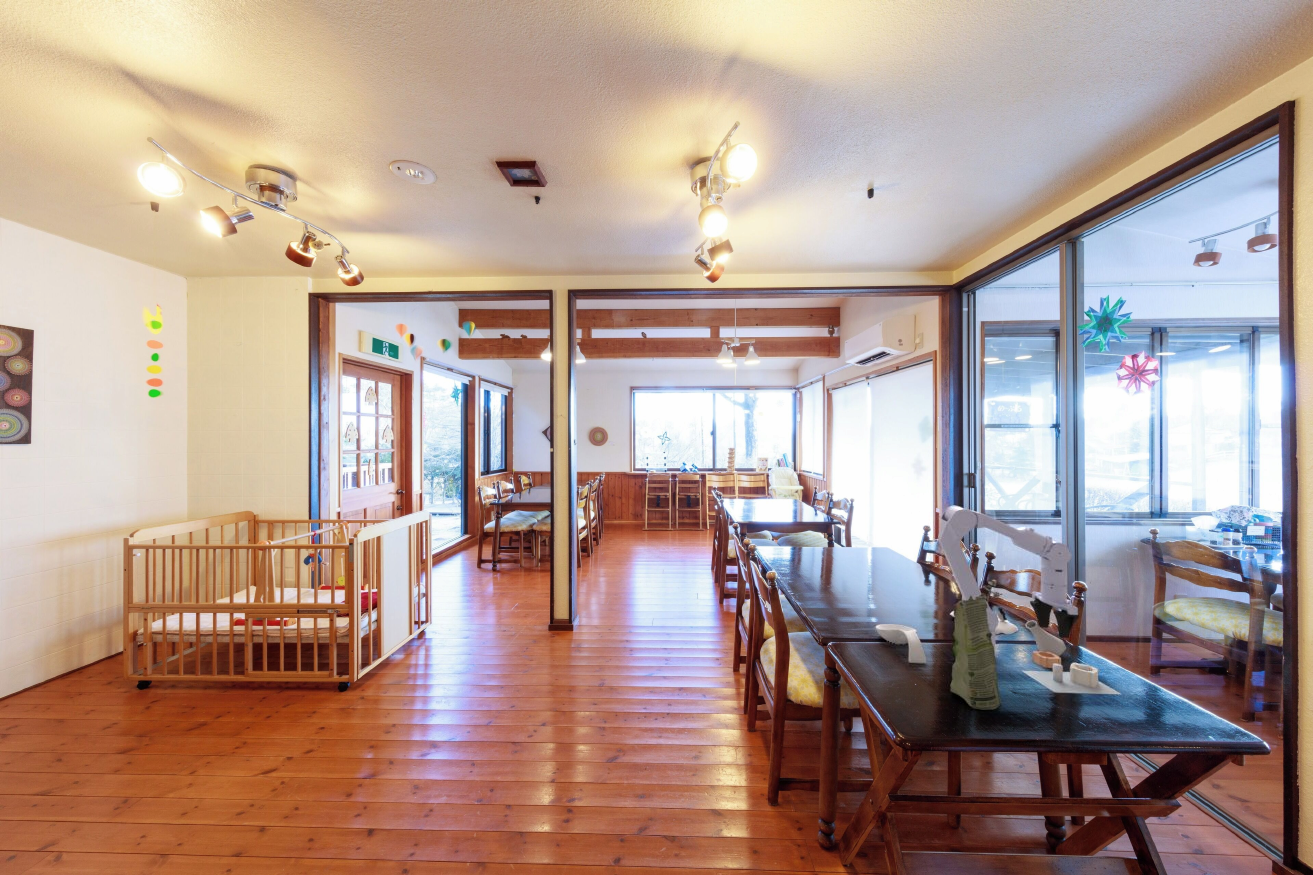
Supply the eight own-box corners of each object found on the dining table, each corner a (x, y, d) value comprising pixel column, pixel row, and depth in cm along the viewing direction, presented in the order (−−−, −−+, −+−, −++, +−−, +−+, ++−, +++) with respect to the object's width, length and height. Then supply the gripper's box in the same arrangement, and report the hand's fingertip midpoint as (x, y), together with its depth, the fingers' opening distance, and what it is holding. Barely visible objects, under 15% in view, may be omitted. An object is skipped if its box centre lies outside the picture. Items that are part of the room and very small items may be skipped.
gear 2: (1095, 688, 126) (1095, 674, 126) (1069, 681, 130) (1069, 667, 130) (1098, 681, 130) (1098, 668, 130) (1073, 675, 133) (1072, 661, 134)
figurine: (938, 616, 180) (943, 571, 179) (971, 610, 188) (975, 567, 187) (995, 641, 162) (1001, 592, 161) (1029, 633, 170) (1034, 586, 169)
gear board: (1054, 696, 124) (1054, 675, 124) (1021, 674, 136) (1021, 655, 136) (1122, 698, 123) (1122, 677, 123) (1083, 676, 135) (1083, 657, 135)
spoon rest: (870, 633, 166) (870, 611, 166) (908, 634, 165) (907, 612, 165) (897, 663, 143) (897, 638, 143) (940, 665, 142) (940, 640, 142)
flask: (1072, 649, 144) (1050, 624, 143) (1049, 663, 145) (1027, 638, 144) (1055, 634, 151) (1034, 610, 150) (1033, 647, 152) (1013, 624, 151)
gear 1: (1043, 671, 138) (1043, 658, 138) (1030, 663, 143) (1030, 650, 143) (1063, 671, 138) (1063, 658, 138) (1049, 663, 143) (1049, 651, 143)
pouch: (956, 709, 117) (956, 601, 118) (940, 685, 129) (940, 587, 130) (1010, 715, 115) (1009, 605, 115) (989, 690, 126) (988, 590, 127)
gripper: (1089, 591, 134) (1089, 642, 134) (1049, 577, 149) (1049, 623, 149) (1062, 590, 135) (1062, 641, 134) (1024, 576, 149) (1024, 622, 149)
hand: (1053, 632), depth 142 cm, fingers open, 7 cm apart
